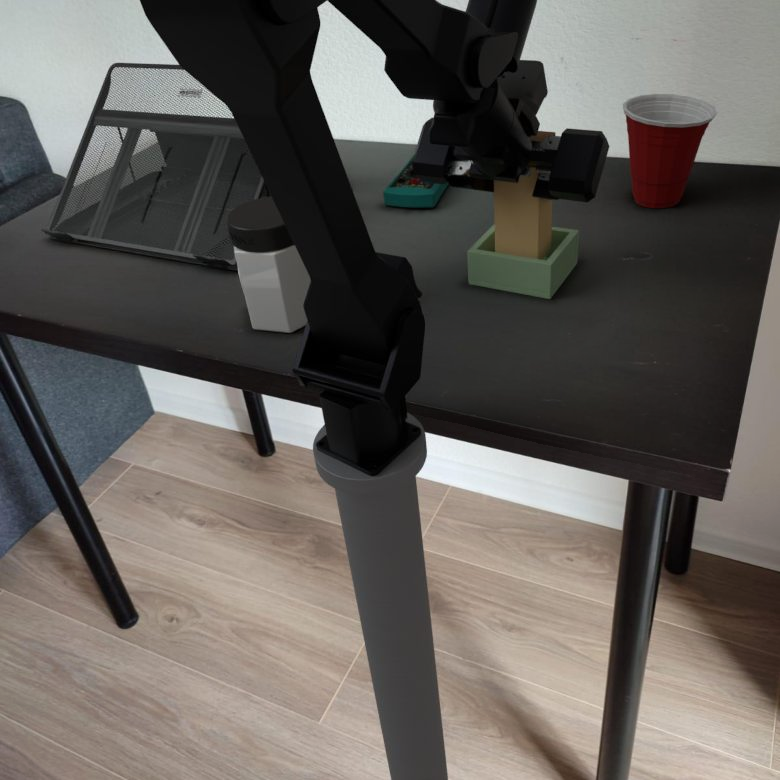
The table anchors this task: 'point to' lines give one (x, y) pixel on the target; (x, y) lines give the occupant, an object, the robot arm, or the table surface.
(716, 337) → the table surface
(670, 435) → the table surface
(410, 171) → the digital multimeter
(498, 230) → the tan rectangular block
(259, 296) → the jar
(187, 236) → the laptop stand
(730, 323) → the table surface
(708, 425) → the table surface
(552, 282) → the sage green storage bin
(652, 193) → the plastic cup
